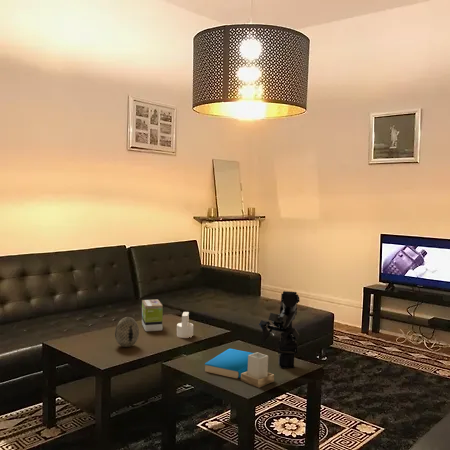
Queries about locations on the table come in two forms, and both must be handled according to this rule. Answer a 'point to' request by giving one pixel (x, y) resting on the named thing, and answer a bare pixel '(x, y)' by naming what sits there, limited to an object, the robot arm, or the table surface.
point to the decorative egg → (127, 332)
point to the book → (229, 363)
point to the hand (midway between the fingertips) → (269, 345)
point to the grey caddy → (257, 365)
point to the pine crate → (255, 381)
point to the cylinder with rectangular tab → (185, 327)
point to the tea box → (152, 315)
